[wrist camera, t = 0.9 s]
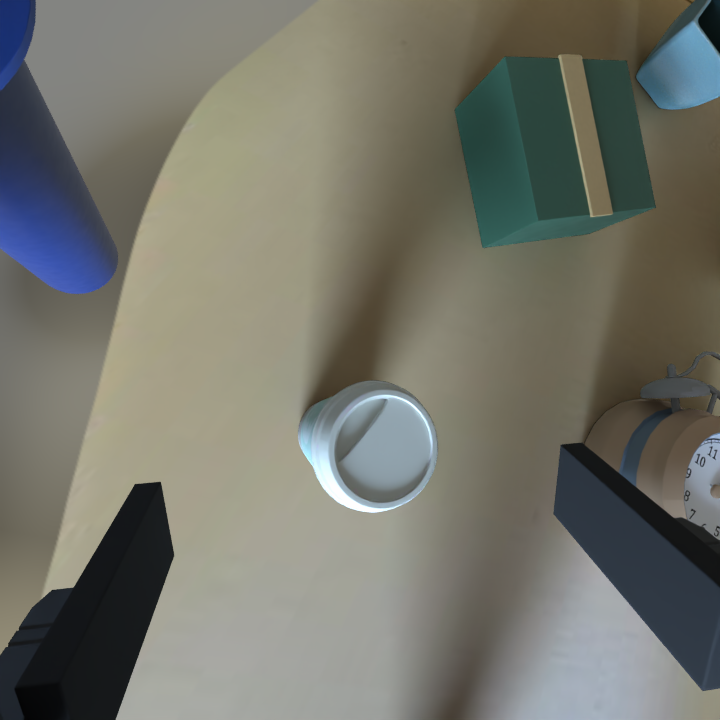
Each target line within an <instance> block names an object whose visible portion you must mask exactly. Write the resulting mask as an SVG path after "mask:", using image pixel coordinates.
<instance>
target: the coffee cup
mask: <svg viewBox="0 0 720 720" xmlns="http://www.w3.org/2000/svg"><path fill="white" fill-rule="evenodd" d="M298 439H299V444H300V447H301V449H302V451H303V453H304V454H305V456H306V457H307V459H308V460H309V461H310V463H311V464H312V465H313V467H314V471H315V473H316V476H317V478H318V480H319V482H320V483H321V485H322V487H323V488H324V489H325V491H326V492H327V493H328V494H329V495H330V496H331V497H332V498H333V499H335V500H336V501H337V502H339V503H340V504H342V505H344V506H346V507H348V508H351V509H354V510H358V511H364V512H382V511H387V510H390V509H393V508H395V507H398V506H400V505H403V504H405V503H407V502H408V501H410V500H411V499H413V498H414V497H415V496H416V495H418V494H419V493H420V491H421V490H422V489H423V488H424V487H425V485H426V484H427V483H428V481H429V479H430V477H431V475H432V473H433V471H434V468H435V465H436V461H437V454H438V440H437V434H436V429H435V426H434V423H433V421H432V419H431V417H430V415H429V414H428V412H427V411H426V409H425V408H424V407H423V405H422V404H421V403H420V402H419V401H418V399H417V398H416V397H414V396H413V395H412V394H411V393H410V392H408V391H407V390H405V389H403V388H401V387H399V386H397V385H394V384H392V383H389V382H385V381H377V380H370V381H363V382H358V383H355V384H352V385H350V386H348V387H346V388H344V389H343V390H341V391H340V392H338V393H337V394H336V395H334V396H333V397H330V398H327V399H325V400H322V401H320V402H318V403H316V404H314V405H313V406H311V407H310V408H309V409H308V410H307V411H306V413H305V414H304V416H303V417H302V419H301V422H300V425H299V430H298Z"/></svg>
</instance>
